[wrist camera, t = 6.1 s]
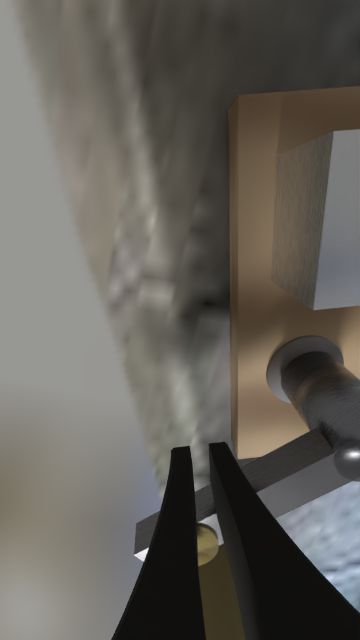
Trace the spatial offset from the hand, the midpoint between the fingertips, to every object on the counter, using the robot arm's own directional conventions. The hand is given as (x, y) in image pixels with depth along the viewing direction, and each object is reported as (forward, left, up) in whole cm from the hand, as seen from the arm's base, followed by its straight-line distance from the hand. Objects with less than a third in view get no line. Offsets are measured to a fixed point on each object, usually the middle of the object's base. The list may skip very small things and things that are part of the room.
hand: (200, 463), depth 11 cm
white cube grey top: (-10, 0, -4) cm, 11 cm away
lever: (0, +3, -4) cm, 5 cm away
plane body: (-7, +3, -6) cm, 9 cm away
